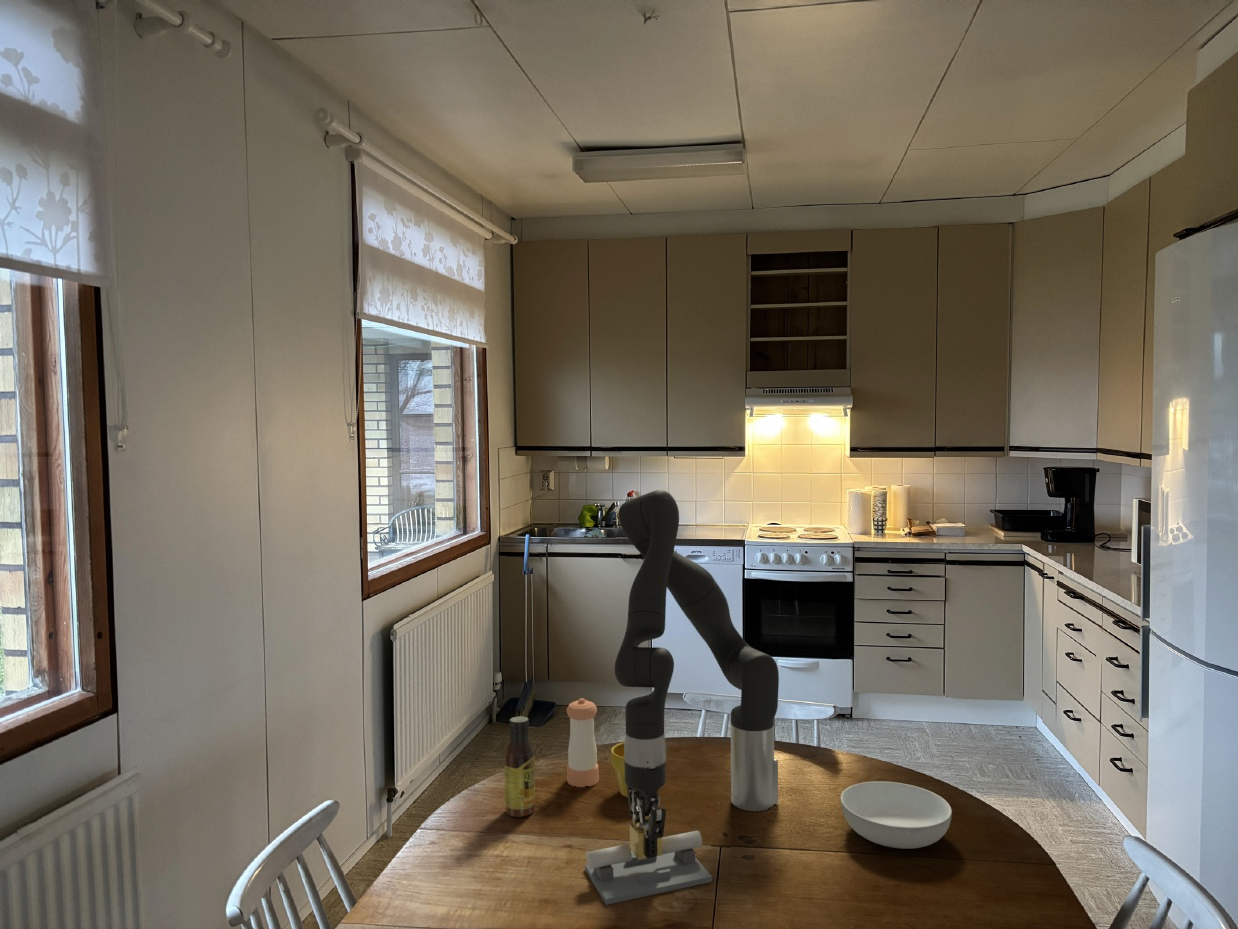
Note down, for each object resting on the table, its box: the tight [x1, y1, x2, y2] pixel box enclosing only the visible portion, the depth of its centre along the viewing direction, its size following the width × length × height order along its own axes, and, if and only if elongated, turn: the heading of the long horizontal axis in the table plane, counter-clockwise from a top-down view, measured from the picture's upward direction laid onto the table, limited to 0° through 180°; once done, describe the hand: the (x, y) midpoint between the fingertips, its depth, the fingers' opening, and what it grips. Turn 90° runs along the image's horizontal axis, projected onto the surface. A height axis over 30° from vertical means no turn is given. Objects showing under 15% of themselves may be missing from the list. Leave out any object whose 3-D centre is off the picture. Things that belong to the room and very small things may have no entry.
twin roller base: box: [584, 830, 713, 906], centre depth 148 cm, size 22×12×6 cm, turn 110°
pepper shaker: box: [566, 697, 600, 788], centre depth 189 cm, size 7×7×19 cm
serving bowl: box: [840, 780, 953, 849], centre depth 162 cm, size 21×21×7 cm
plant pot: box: [610, 741, 628, 799], centre depth 183 cm, size 10×10×10 cm
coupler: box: [629, 822, 662, 860], centre depth 148 cm, size 4×4×5 cm
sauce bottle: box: [504, 715, 536, 818], centre depth 174 cm, size 7×6×20 cm
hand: (645, 849), depth 148 cm, fingers closed on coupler, 4 cm apart
